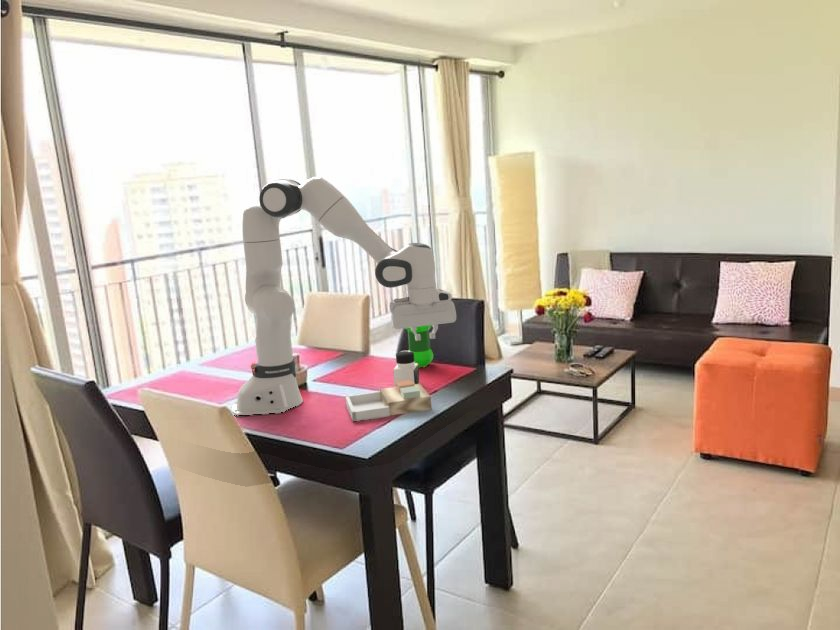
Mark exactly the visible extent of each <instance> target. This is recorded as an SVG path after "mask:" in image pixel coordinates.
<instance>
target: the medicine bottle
mask: <svg viewBox="0 0 840 630" xmlns="http://www.w3.org/2000/svg"><path fill="white" fill-rule="evenodd" d="M395 362H396V365H395V367H394V368H393V369H392V371H393V382H394V385H393V387H396V382H397V381H405V380H412V382H413V383H414V384H420V368H418V363H415V362H414V353H413V352H411V351H408V350H401V351H398V352H397V353H396V354H395Z"/></svg>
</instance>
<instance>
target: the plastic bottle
mask: <svg viewBox="0 0 840 630" xmlns="http://www.w3.org/2000/svg"><path fill="white" fill-rule="evenodd" d="M431 328H433V327H432V325H428V326H419V327H417V330H415V332H416V333H417V334H420V335H421V340H419V341H416V340H415V335H414V333H413V332H412V330H411V328H404V329H405V330H406V331H407V338H408V350H407V351H411V352H413V353H414V362H415V363H418V367H423V368H425V367H424V366H426V367H428V366H427V365H429V364H430V363H431V362H432V361H433V359H434V353H433V352H434V351H433V350H432V349H431V339H430V337H429V336H430V335H429V333H430V329H431Z"/></svg>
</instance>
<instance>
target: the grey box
mask: <svg viewBox="0 0 840 630" xmlns="http://www.w3.org/2000/svg"><path fill="white" fill-rule="evenodd" d="M344 397H345V398H344V399H345V406H346V409H347V410H348V414H349V416H350V415H351V416H350V418H351V421H352V420H353V421H357V422H361V421H360V420H364V421H370V420H369V419H371V420H376V419H383V418H389V417H391V415H390V412H389V406H384V404H383V403H382V401H381V395H380V390H377V391H371V392H363V393H357V394H348V395H345V396H344ZM353 421H352V422H353Z"/></svg>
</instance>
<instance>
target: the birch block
mask: <svg viewBox="0 0 840 630" xmlns="http://www.w3.org/2000/svg"><path fill="white" fill-rule="evenodd" d="M415 386H416V387H417V388H418V389H419V390H420V397H417V398H410V399H403V397H402V396H401V393H400V392H399V391H398V390H397V388H396V387H395V386H392V387H384V388H380V389H379V391H380V395H381V401H382V403H383V404H384V406H389V412H390V416H395V415H402V414H403V415H404V414H408V413H409V414H410V413H415V412H422V411H430V410H432V396H431V395H430V394H429V393H428V392H427V390H426V389H425V388H424V387H423V385H422V384H421V383H419V384H415Z"/></svg>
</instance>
